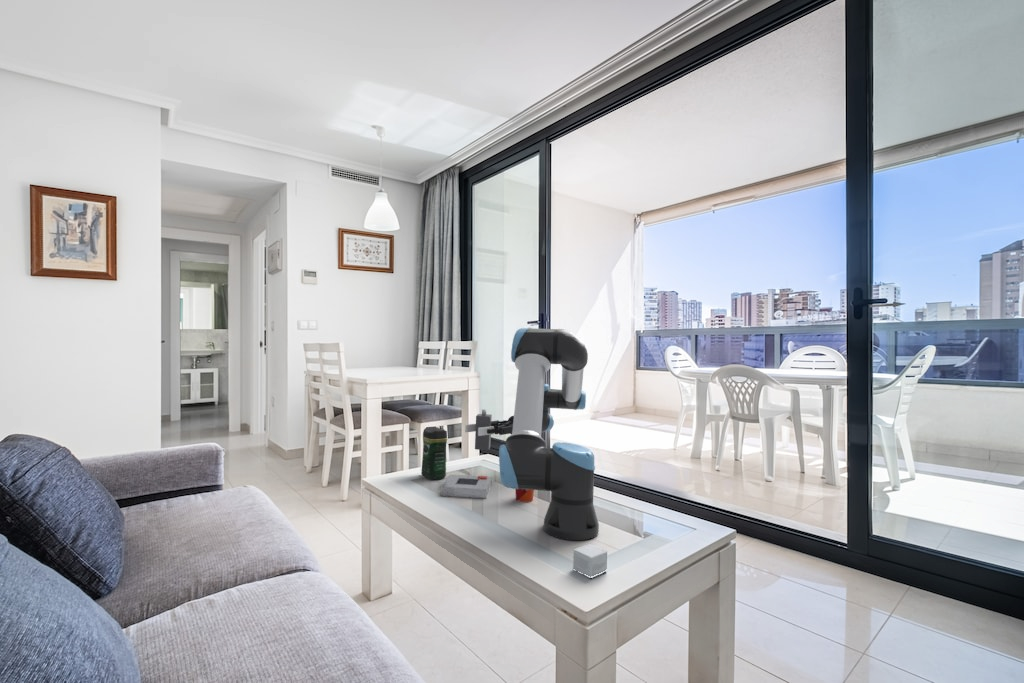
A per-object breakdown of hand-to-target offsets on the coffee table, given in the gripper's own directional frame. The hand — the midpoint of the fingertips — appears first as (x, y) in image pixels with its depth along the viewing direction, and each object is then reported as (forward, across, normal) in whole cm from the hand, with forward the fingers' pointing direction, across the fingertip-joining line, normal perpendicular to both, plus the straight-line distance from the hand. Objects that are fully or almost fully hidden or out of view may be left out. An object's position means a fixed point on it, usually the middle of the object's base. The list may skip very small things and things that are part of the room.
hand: (472, 430), depth 173 cm
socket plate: (+4, -4, -20) cm, 21 cm away
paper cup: (-6, -22, -20) cm, 31 cm away
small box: (+16, -69, -20) cm, 73 cm away
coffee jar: (+5, +16, -20) cm, 26 cm away
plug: (-5, 0, -7) cm, 9 cm away
